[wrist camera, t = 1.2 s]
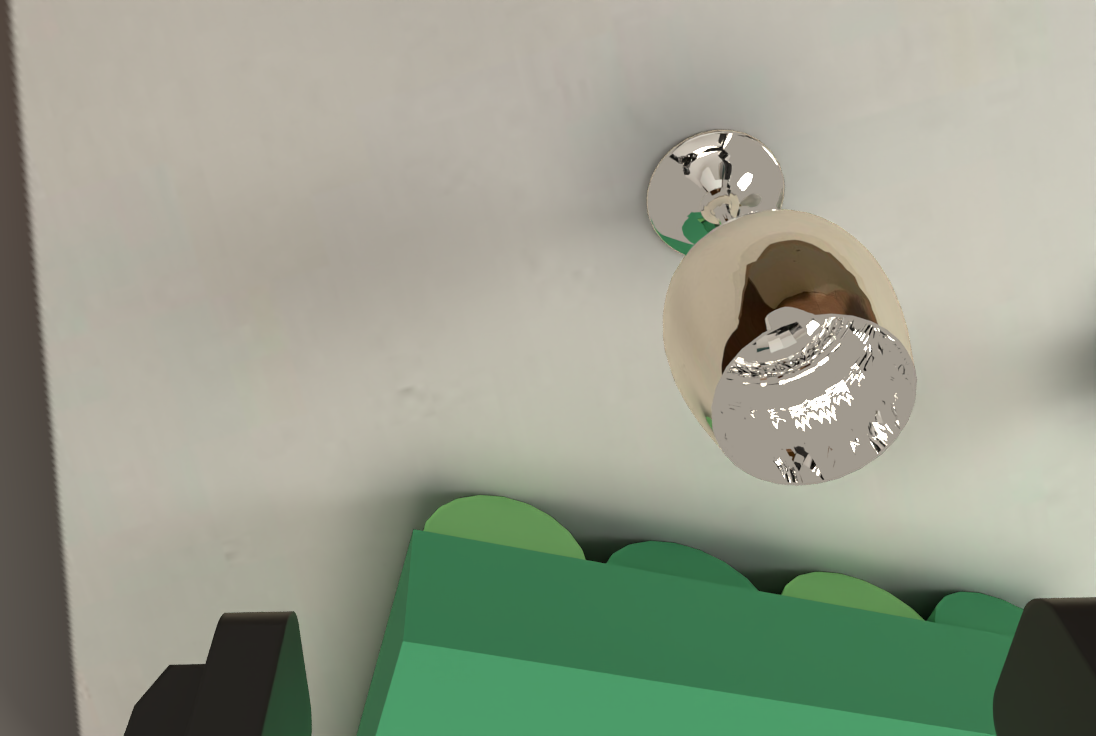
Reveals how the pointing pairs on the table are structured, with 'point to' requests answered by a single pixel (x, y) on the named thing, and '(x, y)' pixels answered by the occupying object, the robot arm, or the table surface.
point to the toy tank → (662, 643)
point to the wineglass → (776, 318)
